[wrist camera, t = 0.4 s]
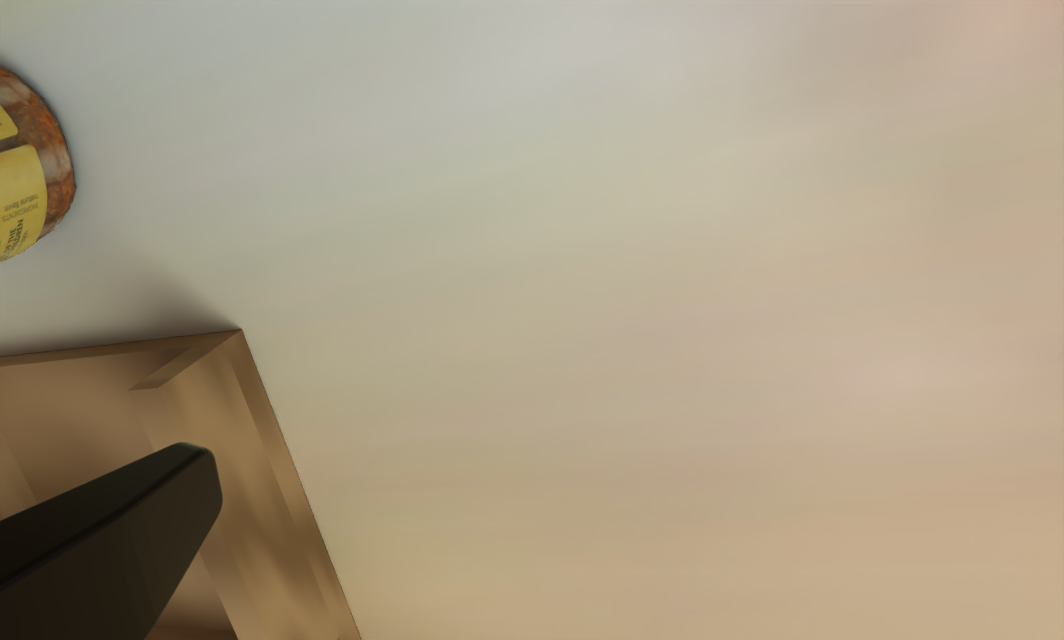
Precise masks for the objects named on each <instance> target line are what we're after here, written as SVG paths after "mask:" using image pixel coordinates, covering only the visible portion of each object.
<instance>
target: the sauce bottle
mask: <svg viewBox="0 0 1064 640" xmlns="http://www.w3.org/2000/svg"><path fill="white" fill-rule="evenodd" d="M76 188H77V187H76V184H75V181H74V172H73V166H72V163H71V158H70V155H69V153H68V150H67V144H66V141H65V138H64V135H63V132H62V129H61V128H60V126H59V124H58V121H57V119H56V118H55V116H54V115H53V114H52V113H51V111H50V110H49V108H48V107H47V106H46V105H45V103H44V101H43V99H42V98H41V97H40V96H38V95H37V94H36V93H35V92H34V90H32V89H31V88H29V87H28V86H27V85H26V84H25V83H24V82H23V81H22V80H21V79H20V78H19V77H18V76H16V75H15V74H14V73H12V72H10V71H8V70H5V69H4V68H2V67H1V66H0V262H2V261H4V260H7V259H9V258H11V257H13V256H15V255H17V254H19V253H21V252H23V251H25V250H26V249H27V248H29V247H30V246H31V245H33V244H34V243H35V242H37V241H38V240H39V239H40V238H42V237H43V236H45V235H46V234H48V233H49V232H50V231H52V230H54V228H55V226H56V225H57V224H58V223H60V221H61V220H62V219H63V217H64V216H65V214H66V212H68V210H69V209H70V204H71V203H72V201H73V198H74V194H75V191H76Z"/></svg>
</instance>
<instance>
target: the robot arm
mask: <svg viewBox="0 0 1064 640" xmlns="http://www.w3.org/2000/svg"><path fill="white" fill-rule="evenodd" d="M222 504H223V492H222V488H221V483H220V478H219V473H218V469H217V464H216V459H215V456H214V454H213V452H212V451H211V450H210V449H208V448H205V447H202V446H198V445H195V444H191V443H188V442H178V443H175V444H172V445H170V446H167V447H165V448H163V449H161V450H158V451H156V452H154V453H151V454H149V455H147V456H145V457H142V458H140V459H138V460H136V461H133V462H131V463H129V464H127V465H124V466H122V467H120V468H117V469H115V470H113V471H111V472H108V473H106V474H104V475H102V476H99V477H97V478H95V479H93V480H90V481H88V482H86V483H83V484H81V485H79V486H77V487H74V488H72V489H70V490H68V491H65V492H63V493H61V494H59V495H56V496H54V497H52V498H50V499H47V500H45V501H43V502H40V503H38V504H36V505H34V506H31V507H29V508H27V509H25V510H22V511H20V512H18V513H16V514H13V515H11V516H9V517H6V518H4V519H2V520H0V640H145V638H146V637H147V635H148V634H149V632H150V631H151V629H152V628H153V627H154V625H155V624H156V622H157V621H158V619H159V617H160V616H161V614H162V613H163V611H164V609H165V608H166V606H167V605H168V603H169V601H170V599H171V598H172V596H173V594H174V593H175V591H176V589H177V587H178V586H179V584H180V582H181V580H182V579H183V577H184V575H185V573H186V572H187V570H188V568H189V567H190V565H191V563H192V561H193V560H194V558H195V556H196V554H197V553H198V551H199V549H200V548H201V546H202V544H203V542H204V541H205V539H206V537H207V535H208V534H209V532H210V530H211V529H212V527H213V525H214V523H215V522H216V520H217V518H218V516H219V514H220V511H221V509H222Z"/></svg>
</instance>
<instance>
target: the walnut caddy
mask: <svg viewBox="0 0 1064 640" xmlns="http://www.w3.org/2000/svg"><path fill="white" fill-rule="evenodd" d="M178 442H188V443H191V444H195V445H198V446H202V447H205V448H208V449H210V450H211V451H212V452H213V454H214V456H215V459H216V464H217V469H218V473H219V478H220V483H221V488H222V492H223V504H222V509H221V511H220V514H219V516H218V518H217V520H216V522H215V523H214V525H213V527H212V529H211V530H210V532H209V534H208V535H207V537H206V539H205V541H204V542H203V544H202V546H201V548H200V549H199V551H198V553H197V554H196V556H195V558H194V560H193V561H192V563H191V565H190V567H189V568H188V570H187V572H186V573H185V575H184V577H183V579H182V580H181V582H180V584H179V586H178V587H177V589H176V591H175V593H174V594H173V596H172V598H171V599H170V601H169V603H168V605H167V606H166V608H165V609H164V611H163V613H162V614H161V616H160V617H159V619H158V621H157V622H156V624H155V625H154V627H153V628H152V629H151V631H150V632H149V634H148V635H147V637H146V638H145V640H361V638H360V635H359V633H358V630H357V628H356V625H355V622H354V620H353V617H352V615H351V612H350V609H349V607H348V604H347V602H346V599H345V596H344V594H343V591H342V589H341V586H340V583H339V581H338V578H337V576H336V573H335V570H334V568H333V565H332V563H331V560H330V558H329V555H328V552H327V550H326V547H325V545H324V542H323V539H322V537H321V534H320V532H319V529H318V526H317V524H316V521H315V519H314V516H313V513H312V511H311V508H310V506H309V503H308V501H307V498H306V495H305V493H304V490H303V488H302V485H301V482H300V480H299V477H298V475H297V472H296V469H295V467H294V464H293V462H292V459H291V456H290V454H289V451H288V449H287V446H286V444H285V441H284V438H283V436H282V433H281V431H280V428H279V425H278V423H277V420H276V418H275V415H274V412H273V410H272V407H271V405H270V402H269V399H268V397H267V394H266V392H265V389H264V387H263V384H262V381H261V379H260V376H259V374H258V371H257V368H256V366H255V363H254V361H253V358H252V355H251V353H250V350H249V348H248V345H247V342H246V340H245V337H244V335H243V332H242V330H235V331H226V332H217V333H208V334H200V335H191V336H182V337H173V338H164V339H155V340H147V341H138V342H129V343H120V344H111V345H102V346H94V347H85V348H76V349H67V350H58V351H49V352H41V353H32V354H23V355H14V356H5V357H0V520H2V519H4V518H6V517H9V516H11V515H13V514H16V513H18V512H20V511H22V510H25V509H27V508H29V507H31V506H34V505H36V504H38V503H40V502H43V501H45V500H47V499H50V498H52V497H54V496H56V495H59V494H61V493H63V492H65V491H68V490H70V489H72V488H74V487H77V486H79V485H81V484H83V483H86V482H88V481H90V480H93V479H95V478H97V477H99V476H102V475H104V474H106V473H108V472H111V471H113V470H115V469H117V468H120V467H122V466H124V465H127V464H129V463H131V462H133V461H136V460H138V459H140V458H142V457H145V456H147V455H149V454H151V453H154V452H156V451H158V450H161V449H163V448H165V447H167V446H170V445H172V444H175V443H178Z"/></svg>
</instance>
